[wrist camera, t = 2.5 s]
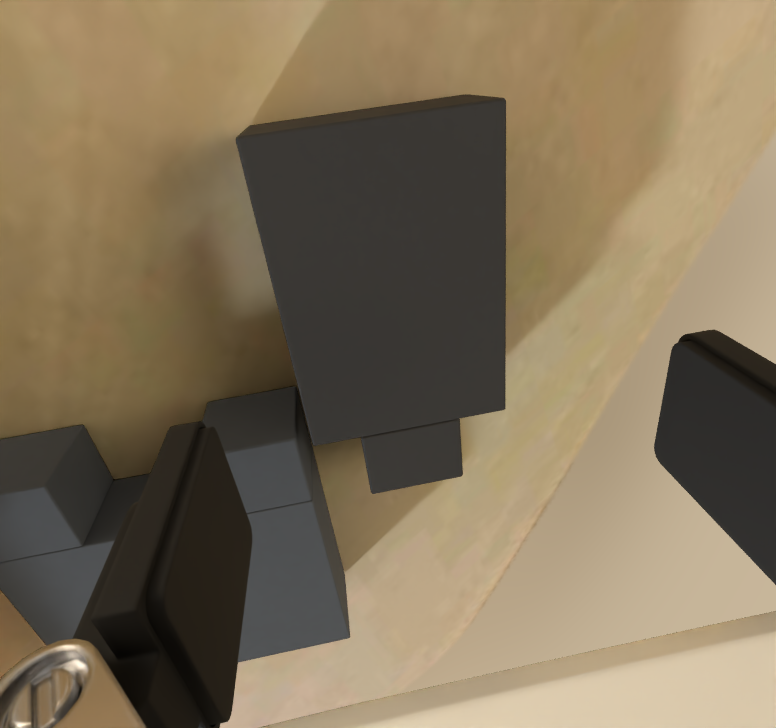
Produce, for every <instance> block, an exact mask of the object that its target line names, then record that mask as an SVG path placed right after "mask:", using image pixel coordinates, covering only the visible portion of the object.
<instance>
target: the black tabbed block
mask: <svg viewBox="0 0 776 728" xmlns="http://www.w3.org/2000/svg"><path fill="white" fill-rule="evenodd" d="M236 144H237V148H238V152H239V155H240V159H241V163H242V167H243V171H244V175H245V179H246V183H247V187H248V191H249V195H250V199H251V203H252V207H253V211H254V215H255V219H256V223H257V227H258V230H259V234H260V238H261V242H262V246H263V250H264V254H265V258H266V262H267V266H268V270H269V274H270V278H271V282H272V286H273V290H274V294H275V298H276V302H277V305H278V309H279V313H280V317H281V321H282V325H283V329H284V333H285V337H286V341H287V345H288V349H289V353H290V357H291V361H292V365H293V369H294V373H295V377H296V380H297V384H298V388H299V392H300V396H301V400H302V404H303V408H304V412H305V416H306V420H307V424H308V428H309V432H310V436H311V440H312V444H313V445H314V446H316V445H322V444H327V443H332V442H337V441H343V440H348V439H353V438H358V437H361V441H362V446H363V452H364V457H365V462H366V468H367V473H368V478H369V484H370V489H371V492H372V494H375V493H380V492H385V491H390V490H395V489H400V488H405V487H410V486H415V485H420V484H425V483H430V482H435V481H440V480H445V479H451V478H456V477H461V476H462V475H463V470H462V452H461V435H460V419H459V418H463V417H469V416H474V415H479V414H484V413H490V412H495V411H500V410H504V409H505V317H506V100H505V99H504V98H499V97H488V96H477V95H459V96H452V97H445V98H438V99H431V100H424V101H417V102H410V103H404V104H397V105H390V106H383V107H376V108H369V109H362V110H355V111H348V112H341V113H334V114H327V115H320V116H313V117H306V118H299V119H293V120H286V121H279V122H272V123H265V124H258V125H251V126H249V127H248V128H246V129H245V130H244V131H243V132H242V133H241V134H240V135H239V136H238V137H236Z"/></svg>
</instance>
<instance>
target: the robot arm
mask: <svg viewBox="0 0 776 728" xmlns="http://www.w3.org/2000/svg"><path fill="white" fill-rule="evenodd" d="M654 449H655V454H656V457H657V459H658V461H659V462H660V464H661V465H662V466H663V467H664V468H665V469H666V470H667V471H668V472H669V473H670V474H671V475H672V476H673V477H674V478H675V479H676V480H677V481H678V483H679V484H680V485H681V486H682V487H683V488H684V489H685V490H686V491H687V492H688V493H689V494H690V495H691V496H692V497H693V498H694V499H695V500H696V501H697V502H698V504H699V505H700V506H701V507H702V508H703V509H704V510H705V511H706V512H707V513H708V514H709V515H710V516H711V517H712V518H713V519H714V520H715V521H716V523H717V524H718V525H720V527H721V528H722V529H723V530H724V531H725V532H726V533H727V534H728V535H729V536H730V537H731V538H732V539H733V540H734V541H735V542H736V544H738V546H739V547H740V548H741V549H742V550H743V551H744V552H745V553H746V554H747V555H748V556H749V557H750V558H751V559H752V560H753V561H754V563H756V565H757V566H758V567H759V568H760V569H761V570H762V571H763V572H764V573H765V574H766V575H767V576H768V577H769V578H770V579H771V580H772V581H773V582H774V583H775V585H776V364H774V363H772V362H771V361H769V360H767V359H766V358H764V357H762V356H761V355H759V354H757V353H755V352H754V351H752V350H750V349H748V348H747V347H745V346H743V345H742V344H740V343H738V342H736V341H735V340H733V339H731V338H730V337H728V336H726V335H724V334H723V333H721V332H719V331H716V330H707V331H702V332H696V333H691V334H685V335H683V336H682V337H681V338H680V339H679V342H678V343H676V344H675V345H674V346H673V348H672V351H671V356H670V362H669V367H668V373H667V379H666V384H665V389H664V395H663V400H662V406H661V412H660V417H659V422H658V428H657V433H656V439H655V444H654ZM252 540H253V539H252V529H251V524H250V521H249V519H248V516H247V513H246V510H245V508H244V505H243V502H242V499H241V496H240V494H239V491H238V488H237V485H236V483H235V480H234V477H233V474H232V472H231V469H230V466H229V463H228V461H227V458H226V455H225V452H224V449H223V447H222V444H221V441H220V438H219V436H218V433H217V431H216V429H215V428H214V427H208V428H206V426H205V424H204V423H203V422H201V421H199V422H193V423H188V424H182V425H177V426H172V427H170V428H169V430H168V432H167V434H166V437H165V439H164V442H163V444H162V447H161V449H160V451H159V454H158V456H157V459H156V461H155V463H154V466H153V468H152V471H151V473H150V476H149V478H148V480H147V483H146V485H145V488H144V490H143V493H142V495H141V497H140V500H139V502H136V503H134V504H133V505H131V506H130V508H129V510H128V511H127V513H126V516H125V518H124V520H123V523H122V525H121V527H120V529H119V532H118V534H117V536H116V539H115V541H114V543H113V546H112V548H111V550H110V553H109V555H108V557H107V560H106V562H105V564H104V567H103V569H102V571H101V574H100V576H99V578H98V581H97V583H96V585H95V588H94V590H93V592H92V595H91V597H90V599H89V601H88V604H87V606H86V608H85V611H84V613H83V615H82V618H81V620H80V622H79V625H78V627H77V629H76V632H75V634H74V636H73V639H68V640H60V641H57V642H55V643H52V644H49V645H47V646H44V647H42V648H40V649H38V650H37V651H35V652H33V653H32V654H30V655H28V656H27V657H25V658H23V659H22V660H21V661H20V662H18V663H17V664H16V665H15V666H14V667H13V668H11V669H10V670H9V671H8V672H7V673H5V674H4V675H3V677H2V678H1V679H0V728H219V727H220V723H223V722H228V720H229V719H230V716H231V712H232V705H233V697H234V689H235V681H236V672H237V664H238V656H239V648H240V640H241V632H242V624H243V615H244V607H245V599H246V591H247V583H248V575H249V567H250V558H251V550H252ZM259 728H776V611H774V612H769V613H764V614H760V615H755V616H750V617H745V618H741V619H736V620H731V621H727V622H722V623H718V624H713V625H708V626H704V627H699V628H695V629H690V630H685V631H681V632H676V633H672V634H667V635H663V636H658V637H653V638H649V639H644V640H640V641H635V642H631V643H626V644H621V645H617V646H612V647H608V648H603V649H599V650H594V651H590V652H585V653H581V654H576V655H572V656H567V657H562V658H558V659H554V660H549V661H544V662H540V663H535V664H531V665H526V666H522V667H518V668H513V669H508V670H504V671H499V672H495V673H491V674H486V675H482V676H477V677H473V678H469V679H464V680H460V681H456V682H451V683H446V684H442V685H438V686H433V687H428V688H425V689H420V690H415V691H411V692H406V693H402V694H397V695H393V696H388V697H384V698H380V699H375V700H371V701H366V702H362V703H358V704H354V705H350V706H345V707H341V708H337V709H333V710H329V711H325V712H321V713H317V714H313V715H309V716H304V717H300V718H296V719H292V720H288V721H284V722H280V723H276V724H272V725H268V726H264V727H259Z"/></svg>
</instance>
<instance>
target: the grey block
mask: <svg viewBox="0 0 776 728" xmlns="http://www.w3.org/2000/svg"><path fill="white" fill-rule="evenodd" d="M202 422H203V423H204V424H205V426H206V428H208V427H214V428H215V429H216V431H217V433H218V436H219V438H220V441H221V444H222V447H223V449H224V452H225V455H226V458H227V461H228V463H229V466H230V469H231V472H232V474H233V477H234V480H235V483H236V485H237V488H238V491H239V494H240V496H241V499H242V502H243V505H244V508H245V510H246V513H247V516H248V519H249V521H250V524H251V529H252V539H253V540H252V550H251V558H250V567H249V575H248V583H247V591H246V599H245V607H244V615H243V624H242V632H241V640H240V648H239V656H238V662H242V661H246V660H251V659H255V658H260V657H265V656H269V655H274V654H278V653H283V652H288V651H292V650H297V649H301V648H306V647H310V646H315V645H320V644H324V643H329V642H333V641H338V640H343V639H347V638H350V630H349V618H348V607H347V595H346V584H345V574H344V570H343V566H342V562H341V558H340V554H339V550H338V546H337V543H336V539H335V535H334V531H333V527H332V523H331V519H330V515H329V511H328V507H327V503H326V499H325V495H324V492H323V488H322V484H321V480H320V476H319V472H318V468H317V464H316V460H315V456H314V452H313V448H312V445H311V441H310V437H309V433H308V429H307V425H306V421H305V417H304V413H303V409H302V406H301V402H300V398H299V394H298V390H297V387H295V386H294V387H289V388H283V389H278V390H272V391H267V392H261V393H256V394H250V395H245V396H239V397H234V398H228V399H223V400H217V401H212V402H208V403H207V407H206V410H205V414H204V417H203V420H202ZM149 476H150V474H146V475H141V476H136V477H130V478H125V479H120V480H114V481H113V478H112V476H111V474H110V473H109V471H108V469H107V467H106V465H105V463H104V461H103V460H102V458H101V456H100V454H99V452H98V450H97V449H96V447H95V445H94V443H93V441H92V439H91V438H90V436H89V434H88V432H87V430H86V428H85V427H84V425H78V426H72V427H67V428H61V429H56V430H50V431H45V432H39V433H34V434H28V435H23V436H17V437H12V438H6V439H1V440H0V590H1V591H2V592H3V593H4V594H5V596H6V597H7V598H8V599H9V601H10V602H11V603H12V604H13V605H14V607H15V608H16V609H17V610H18V611H19V613H20V614H21V615H22V616H23V617H24V619H25V620H26V621H27V622H28V624H29V625H30V626H31V627H32V628H33V630H34V631H35V632H36V633H37V634H38V636H39V637H40V638H41V639H42V640H43V642H44V643H45V644H46V645H49V644H52V643H55V642H57V641H60V640H68V639H73V636H74V634H75V632H76V629H77V627H78V625H79V622H80V620H81V618H82V615H83V613H84V611H85V608H86V606H87V604H88V601H89V599H90V597H91V595H92V592H93V590H94V588H95V585H96V583H97V581H98V578H99V576H100V574H101V571H102V569H103V567H104V564H105V562H106V560H107V557H108V555H109V553H110V550H111V548H112V546H113V543H114V541H115V539H116V536H117V534H118V532H119V529H120V527H121V525H122V523H123V520H124V518H125V516H126V513H127V511H128V510H129V508H130V506H131V505H133V504H134V503H136V502H139V500H140V497H141V495H142V493H143V490H144V488H145V485H146V483H147V480H148V478H149Z"/></svg>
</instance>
